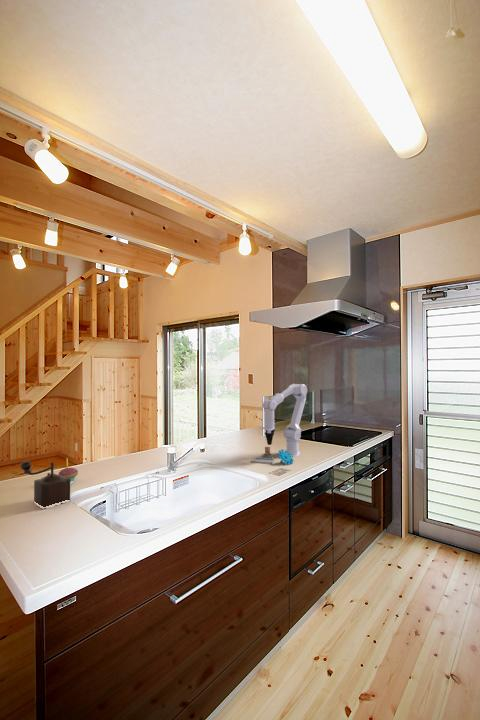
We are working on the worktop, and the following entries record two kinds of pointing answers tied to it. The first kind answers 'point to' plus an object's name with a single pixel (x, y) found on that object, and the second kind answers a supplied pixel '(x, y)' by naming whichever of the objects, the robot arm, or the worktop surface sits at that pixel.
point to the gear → (285, 457)
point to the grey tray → (263, 460)
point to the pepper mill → (48, 486)
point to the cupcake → (69, 472)
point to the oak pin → (267, 451)
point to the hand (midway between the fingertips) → (269, 443)
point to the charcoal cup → (267, 456)
